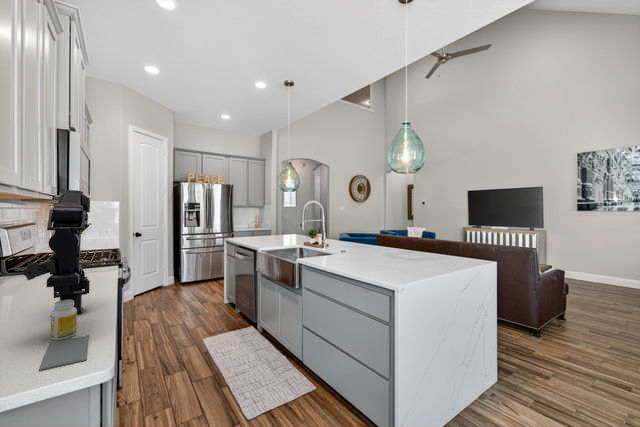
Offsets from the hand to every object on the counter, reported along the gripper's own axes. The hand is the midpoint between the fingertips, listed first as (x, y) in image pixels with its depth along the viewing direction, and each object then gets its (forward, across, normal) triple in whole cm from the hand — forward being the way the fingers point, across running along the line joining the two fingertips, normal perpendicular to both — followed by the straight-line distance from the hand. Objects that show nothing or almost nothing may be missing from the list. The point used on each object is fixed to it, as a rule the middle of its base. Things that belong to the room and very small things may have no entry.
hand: (65, 305), depth 81 cm
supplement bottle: (+8, +2, 0) cm, 8 cm away
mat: (+8, +14, +2) cm, 16 cm away
